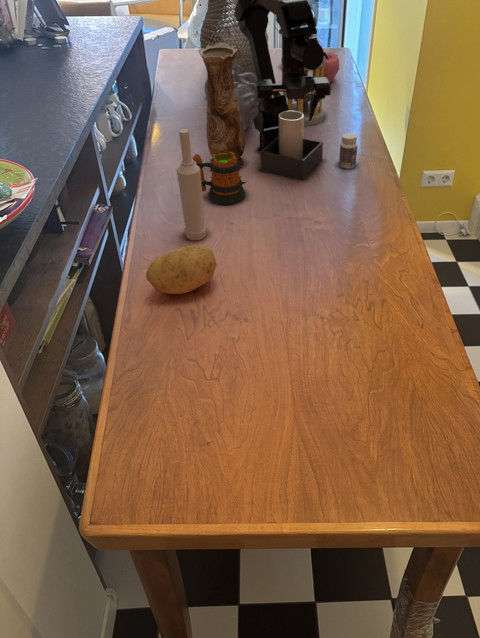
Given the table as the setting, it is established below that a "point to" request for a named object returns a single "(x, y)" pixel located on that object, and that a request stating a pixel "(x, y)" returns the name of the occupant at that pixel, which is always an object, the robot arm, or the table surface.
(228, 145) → the vase
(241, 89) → the ornament
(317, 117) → the lantern
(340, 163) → the pill bottle
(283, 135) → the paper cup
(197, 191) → the bottle
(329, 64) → the apple
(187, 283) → the potato
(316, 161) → the bin
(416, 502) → the table surface
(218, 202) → the mug
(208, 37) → the vase
